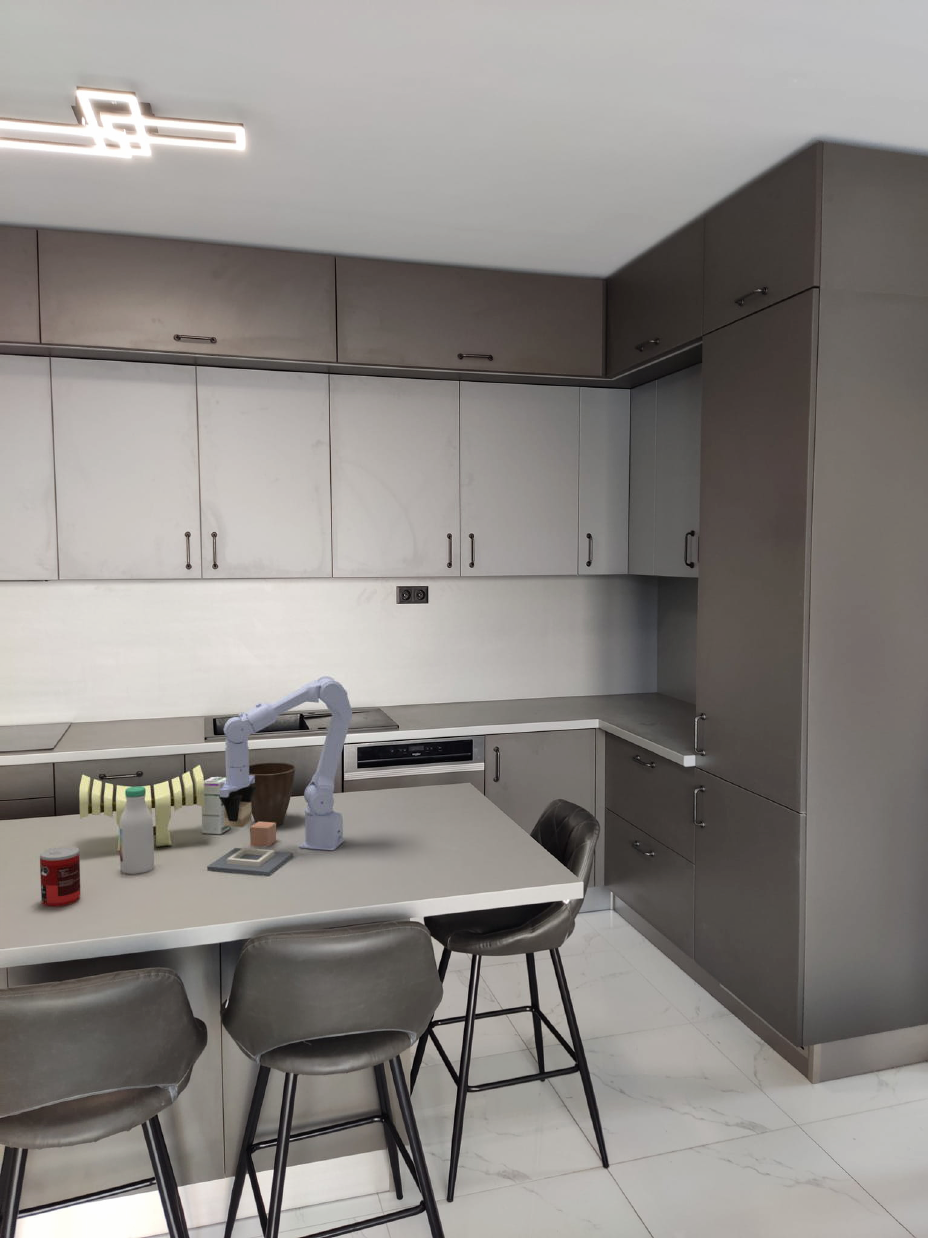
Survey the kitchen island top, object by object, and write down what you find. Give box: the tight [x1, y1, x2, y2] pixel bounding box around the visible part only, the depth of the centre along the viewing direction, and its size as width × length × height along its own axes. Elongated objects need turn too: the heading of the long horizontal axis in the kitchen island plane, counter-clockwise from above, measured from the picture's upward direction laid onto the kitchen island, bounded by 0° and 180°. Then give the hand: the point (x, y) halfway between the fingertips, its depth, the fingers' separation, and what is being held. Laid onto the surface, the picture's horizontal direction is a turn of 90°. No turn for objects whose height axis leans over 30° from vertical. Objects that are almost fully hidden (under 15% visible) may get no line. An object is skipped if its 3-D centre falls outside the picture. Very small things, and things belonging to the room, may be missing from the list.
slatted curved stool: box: [78, 764, 205, 852], centre depth 231 cm, size 30×16×18 cm, turn 111°
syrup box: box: [201, 776, 231, 835], centre depth 241 cm, size 6×6×14 cm
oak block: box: [224, 802, 253, 828], centre depth 223 cm, size 5×5×5 cm
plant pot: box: [249, 762, 296, 827], centre depth 248 cm, size 15×15×16 cm
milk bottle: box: [118, 785, 155, 875], centre depth 211 cm, size 8×8×20 cm
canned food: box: [39, 845, 81, 908], centre depth 192 cm, size 8×8×11 cm
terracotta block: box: [249, 822, 277, 847], centre depth 231 cm, size 5×5×5 cm
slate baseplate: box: [206, 847, 294, 877], centre depth 216 cm, size 16×14×2 cm
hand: (238, 817), depth 223 cm, fingers closed on oak block, 5 cm apart
